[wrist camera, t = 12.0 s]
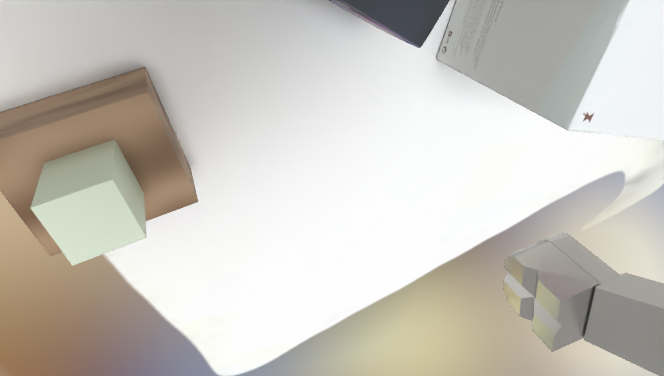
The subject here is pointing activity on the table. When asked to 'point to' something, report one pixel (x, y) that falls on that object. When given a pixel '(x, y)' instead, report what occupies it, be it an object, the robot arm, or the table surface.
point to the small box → (398, 16)
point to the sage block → (90, 202)
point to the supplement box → (567, 59)
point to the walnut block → (90, 130)
